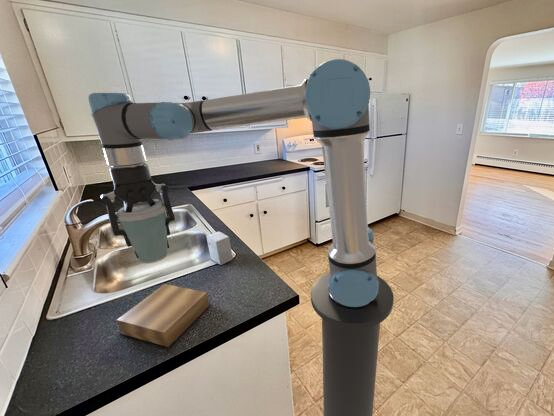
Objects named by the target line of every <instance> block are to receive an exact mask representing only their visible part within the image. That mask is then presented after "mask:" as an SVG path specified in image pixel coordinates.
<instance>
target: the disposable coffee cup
mask: <svg viewBox="0 0 554 416" xmlns="http://www.w3.org/2000/svg"><path fill="white" fill-rule="evenodd" d="M152 199H153V201H154V202H155V205H153V206H152V207H150V206H149V204H148V203H147V202H139V203H137V204H133V208H132V212H130V213H125V212H124V206H123V207H120V208H119V210H117V212H115V213H116V218H117V222H118V224H119V225H120V227H121V229H124V230H125V232H126V234H127V237H128V239H129V241H130V243H131V244H132V246H131V248H132V249H133V252H135V251H136V253H137V255H138V257H139V258H137V259H138V260H139V261H140V262H141V263H142V264H153V263H158V262H160V261H162V260H164V259H165V258H167V256H168V253H169V248H168V247H167V240H168V236H167V227H166V226H165V224H166V220H165V218H166V217H167V214H166V211H165V210H166V208H165V206H164V204H163V202H162V199H161V200H160V199H158V198H152ZM134 249H135V250H134Z"/></svg>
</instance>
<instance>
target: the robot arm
mask: <svg viewBox="0 0 554 416" xmlns="http://www.w3.org/2000/svg"><path fill="white" fill-rule="evenodd" d="M87 98H88V103H89V104H88V105H89V107H90V115H91V117H92V119H93V122H94V125H95V128H96V131H97V133H98V137H99V140H100V144H101V147H102V150H103V153H104V158H105V160H106V164H107V166H109V169H108V171H109V173H110V176H111V177H110V178H111V181H112V183H113V189H112V191H110V192H108V193H101V194H100V199H101V201H102V202H103V203H104V205H105V207H106V211H107V215H108V220H109V224H110V228H111V231H112V234H113V235H114V236H116V237H117V236H122V237H123V239H124V242H125V245H126V246H127V247H128V248H130V247H132V244H131V243H130V241H129V239H128V237H127V234H126V232H125V230H124V229H122V228H120V227H119V222H118V220H117V218H116V213H117V212H116V209H115V206H114V202H115V201H116V199H115V197H117V198H119V199H120V200H122V201H123V207H124V212H125V213H130V212H132V208H133V204H137V203H139V202H147V203H148V204H149V206H150V207H152V206H153V205H155V202H154V201H153V199H154V198H152V195H153V194H154V191H155V189H156V192H158V193H159V195H160V199H161V202H162V204H164V206H165V208H166V210H165V214H166V218H165V220H166V224H165V226H166V227H167V237H168V236H170V235H171V229H170V226H169V225H170V223H171V222H174V221H175V220H176V216H175V213H174V212H173V207H172V204H171V201H170V198H169V195H168V192H169V186H168V185H166V184H165V183H160V184H159V183H155V182H154V181H153V179H152V175H151V172H150V167H149V165H148V164H147V163H146V162H147V161H148V158H147V155H146V153H145V148H144V144H143V139H145V140H146V139H149V140H154V139H155V140H169V141H173V140H180V139H181V140H182V139H186V138H188V137H189V136H190V135H192V134H198V133H199V134H200V133H205V132H211V131H219V130H225V129H233V128H240V127H241V128H242V127H248V126H254V125H263V124H269V123H277V122H285V121H293V120H299V119H308V120H309V121H310V122H311V126H312V127H311V128H312V133H313V139H314V140H315V141H317V142H318V143H319V144H320V145H321V148H322V159H323V166H324V175H325V186H326V195H327V203H328V210H329V220H330V228H331V229H330V230H331V240H332V243H331V244H330V245H329V247H328V248H327V258H328V267H329V272H330V281H329V283H328V289H327V290H328V295H329V297H330V299H331V300H332V301H333V302H334V303H335V304H337V305H339V306H341V307H344V308H348V309H359V308H363V307H366V306H368V305H370V304H371V303H372V302H373V301H374V302H375V303H377V302H378V301H377V300H376V299H375V298H376V296H377V294H378V287H379V281H378V279H377V276H378V271H377V256H376V255H377V253H376V250H377V249H376V245H375V244H374V240H375V237H374V231H373V229H372V228H370V227H369V225H368V224H369V223H368V206H367V190H366V173H365V172H366V169H365V155H364V140H365V139H366V137H368V135H369V134H370V132H371V127H370V126H371V125H370V108H369V107H370V105H369V104H370V100H371V85H370V82H369V78H368V77H367V74H366V73H365V72H364V71H363V69H362V68H360V66H359V65H358V64H356V63H354V62H352V61H350V60H347V59H341V58H333V59H329V60H326V61H324V62H322V63H321V64H319V65H318V66H317V67H315V68H314V70H313V71H312V73H311V74H310V76H309V77H308V78H307V79H304V80H303V82H302V83H301V84H299V85H293V86H286V87H279V88H274V89H268V90H261V91H255V92H247V93H242V94H236V95H230V96H229V95H228V96H223V97H217V98H211V99H204V100H196V101H190V102H189V101H188V102H171V101H160V102H133V100H132V97H131V96H130V94H128V93H127V92H92V93H90V94H89V95H88V97H87ZM167 247H168V249H170V244H169V241H168V239H167ZM134 250H135V249H134ZM134 250H133V252H134ZM134 255H135V257H136V259H138V258H139V257H138V255H137V253H136V251H135V252H134Z"/></svg>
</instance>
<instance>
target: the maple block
mask: <svg viewBox="0 0 554 416" xmlns="http://www.w3.org/2000/svg"><path fill="white" fill-rule="evenodd" d="M209 306H210V302H209V297H208V292H206V291H202V290H197V289H191V288H186V287H182V286H177V285H172V284H167V283H164V284H163V285H161V286H159V288H157V289H155V290H154V291H153V292H152V293H150V294H149V295H148V296H146V297H145V298H143V300H141V301H140V302H138V303H137V304H135V305H134V306H133V307H132V308H131V309H129V310H128V311H126V312H125V313H124V314H122V315H121V316H120V317H118V318H116V323H117V325H118V328H119V331H120V333H121V335H124V336H127V337H130V338H131V337H132V338H135V339H138V340H142V341H146V342H149V343H153V344H156V345H159V346H162V347H163V346H164V347H166V348H169V347H171V345H172V344H174V342H176V340H177V339H179V337H180V336H181V335H182V334H183V333H184V332H185V331H186V330H187V329H188V328H189V327H190V326H191V325H192V324H193V323H194V322H195V321H196V320H197V319H198V318H199V317H200V316H201V315H202V314H203V313H204V312H205V311H206V310H207V309H208V308H209Z"/></svg>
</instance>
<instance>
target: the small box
mask: <svg viewBox="0 0 554 416" xmlns="http://www.w3.org/2000/svg"><path fill="white" fill-rule="evenodd" d="M205 238H206V241H207V247H208V251H209V252H208V253H209V257H210V259H211V260H213V261H214V262H215V263H217V264H218V265H219V266H222V265H224V264H226V263H228V262H231V261H233V260H234V257H233V252H232V246H231V240H230V237H229V236H228V235H226V234H225V233H223V232H221V231H216V232H213V233H211V234H208V235H206V236H205Z"/></svg>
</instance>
